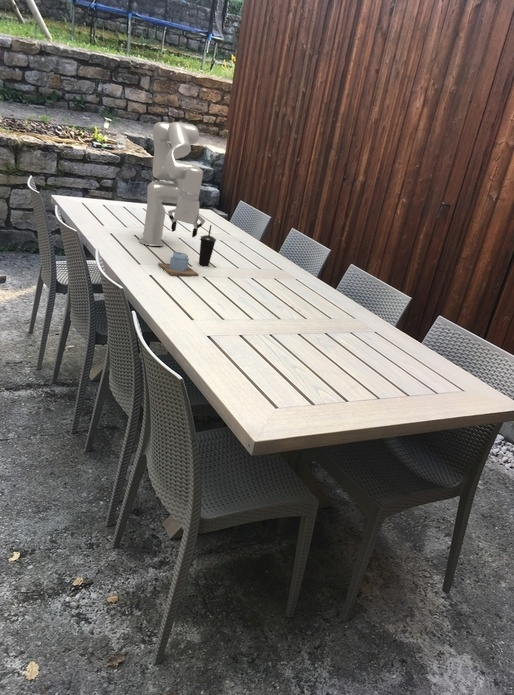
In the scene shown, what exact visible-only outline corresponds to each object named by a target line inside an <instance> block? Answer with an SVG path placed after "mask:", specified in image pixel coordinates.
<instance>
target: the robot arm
mask: <svg viewBox="0 0 514 695" xmlns="http://www.w3.org/2000/svg"><path fill="white" fill-rule="evenodd" d="M152 128H153V129H152V139H153V140H152V141H153V147H154V152H153V161H152V176H153V177H154V178H156V179H158V180H162V181H163V180H164V181H170V182H172V183H169V182H162V181H152V182H149V184H148V185H147V189H146V190H147V192H146V194H147V202H146V210H145V211H146V212H145V213H146V214H145V217H144V218H145V219H144V226H143V227H144V228H143V232H142V237H140V238H139V240H138V241H140V242H139V243H140V244H141V243H142V245H144V244H145V245H144V246H147V245H149V246H148V247H151V246H162V247H164V246H163V245H165V243H164V241H162V239H163V238H162V237H163V232H164V226H165V219H166V218H165V217H166V209H165V207H164V205H163V203H167V204H174V205H175V204H176V206H175V209H170V210H168V211H167V214H168V218H169V220H170V222H171V227H170V229H171V232H175V231H177V230H176V228H177V221H179V222H181V223H182V222H183V223H186V224H190V225H193V227H194V228H193V229H192V234H191V237H192V238H195V237H196V236H197V235H198V229H199V228H201V227H203V225H204V224H205V223H206V220H205V219H204V218H203V217H202V216H201V215H200V214H199V213H200V200H199V196H200V193H201V188H202V186H201V185H202V181H203V175H204V170H202V169H201V168H200V166H199V165H197V164H194V163H190V162H189V163H188V162H184V161H183V162H182V161H178V160H177V159H182V158H185V157H186V156H188V155H189V154H190V153H191V151H192V150H191V145H195V144H196V143H198V140H199V138H200V133H199V132H200V131H199V128H198V127H197V126H196V125H194V124H191V123H186V122H181V121H172V122H164V121H159V122H158V121H157V122H156V123H154V126H153V127H152ZM169 143H170V144H169ZM176 160H177V161H176ZM173 214H174V215H173ZM198 221H200V223H198Z"/></svg>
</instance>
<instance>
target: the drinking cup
mask: <svg viewBox="0 0 514 695" xmlns="http://www.w3.org/2000/svg"><path fill="white" fill-rule="evenodd" d="M208 230H209V231H208V235H207V234H204V235H201V236H200V246H199V259H198V265H199V264H200V265H199V266H201V265H202V266H201V267H204V266H208V267H209V265H210V263H211V258H212V254H213V251H214V248H215V244H216V242H217V239H216V238H215V237H214V236H212V235H211V230H212V225H211V224H210V226H209V229H208Z"/></svg>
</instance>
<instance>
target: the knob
mask: <svg viewBox="0 0 514 695" xmlns="http://www.w3.org/2000/svg"><path fill="white" fill-rule="evenodd" d="M188 257H189V255H188V254H186V253H184V252H181V251H175V252H173V253H172V256H171V257H170V260H169V264H170V265H169V269H173V270H177V271H180V272H183V271H185V270H186V269H187V267H189V266H188V265H189V261H190V258H188Z"/></svg>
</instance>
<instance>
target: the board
mask: <svg viewBox="0 0 514 695" xmlns="http://www.w3.org/2000/svg"><path fill="white" fill-rule="evenodd" d="M158 265H159V266H160V267H161V268H162V269H163V270H162V269H161V268H160V267H159V266H158ZM169 265H170V263H169V262H168V263H165V262H164V263H161V262H158V263H157V266H158V267H159V268H160V269H161V270H162V271H164V270H165V271H166V272H167V273H168V274H167V273H166V272H165V271H164V272H165V273H166V274H167V275H168V276H170V277H191V276H198V277H199V273H198V272H197V271H195V270H194V269H193V268H191V267H189V266H188V267H187V269H186V270H185V271H183V272H180V271H177V270H173V269H169Z"/></svg>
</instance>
